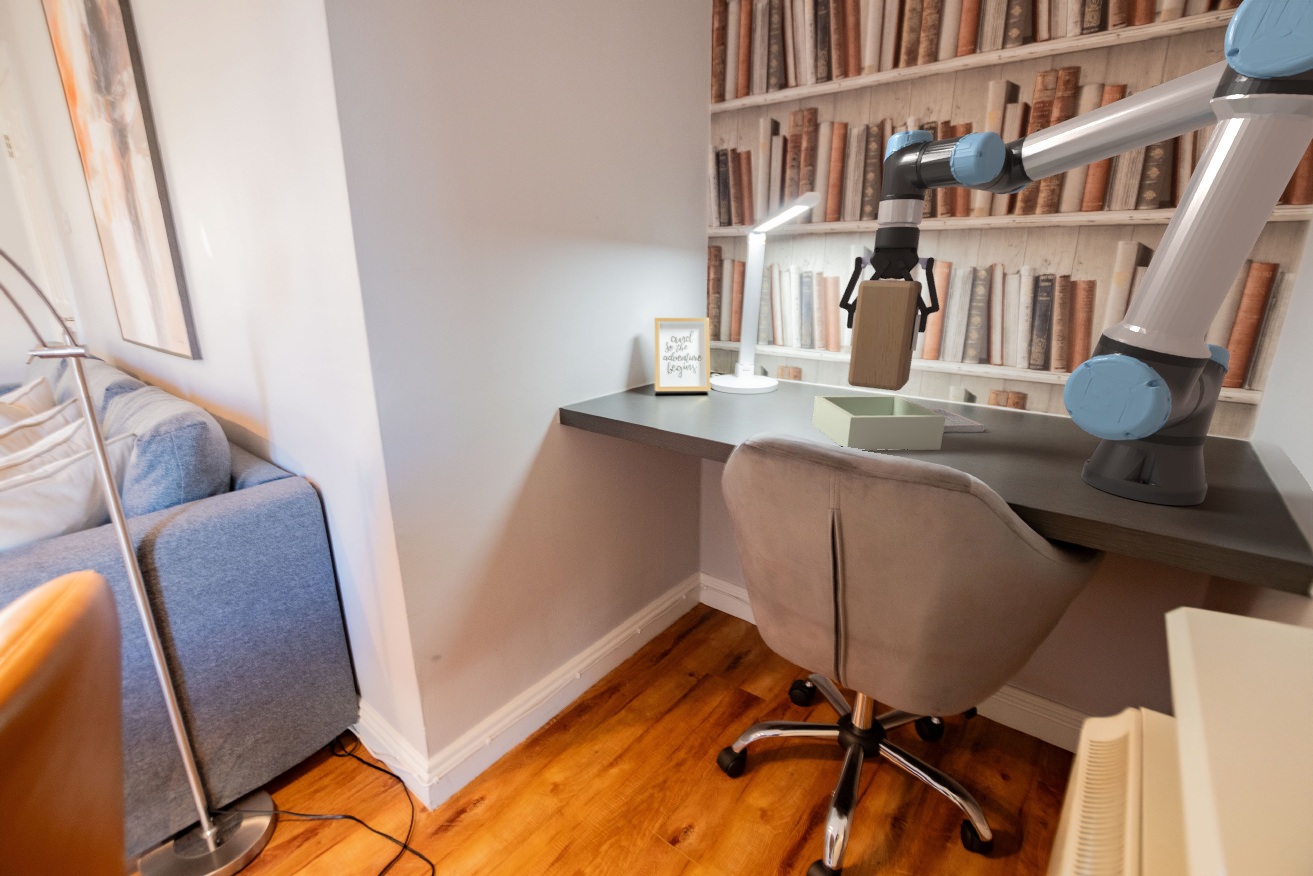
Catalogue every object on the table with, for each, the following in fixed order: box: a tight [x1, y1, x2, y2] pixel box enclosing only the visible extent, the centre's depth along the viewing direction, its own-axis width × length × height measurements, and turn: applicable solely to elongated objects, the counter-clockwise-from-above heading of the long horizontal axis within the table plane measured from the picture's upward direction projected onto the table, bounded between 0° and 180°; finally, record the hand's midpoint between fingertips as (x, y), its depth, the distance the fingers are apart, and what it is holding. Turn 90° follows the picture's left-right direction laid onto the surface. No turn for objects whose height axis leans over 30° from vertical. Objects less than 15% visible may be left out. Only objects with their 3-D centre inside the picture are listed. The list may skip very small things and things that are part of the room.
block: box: [847, 279, 923, 392], centre depth 111 cm, size 10×10×20 cm
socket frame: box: [926, 407, 986, 434], centre depth 127 cm, size 15×15×2 cm
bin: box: [812, 394, 947, 452], centre depth 115 cm, size 18×18×6 cm
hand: (882, 347), depth 111 cm, fingers closed on block, 10 cm apart
